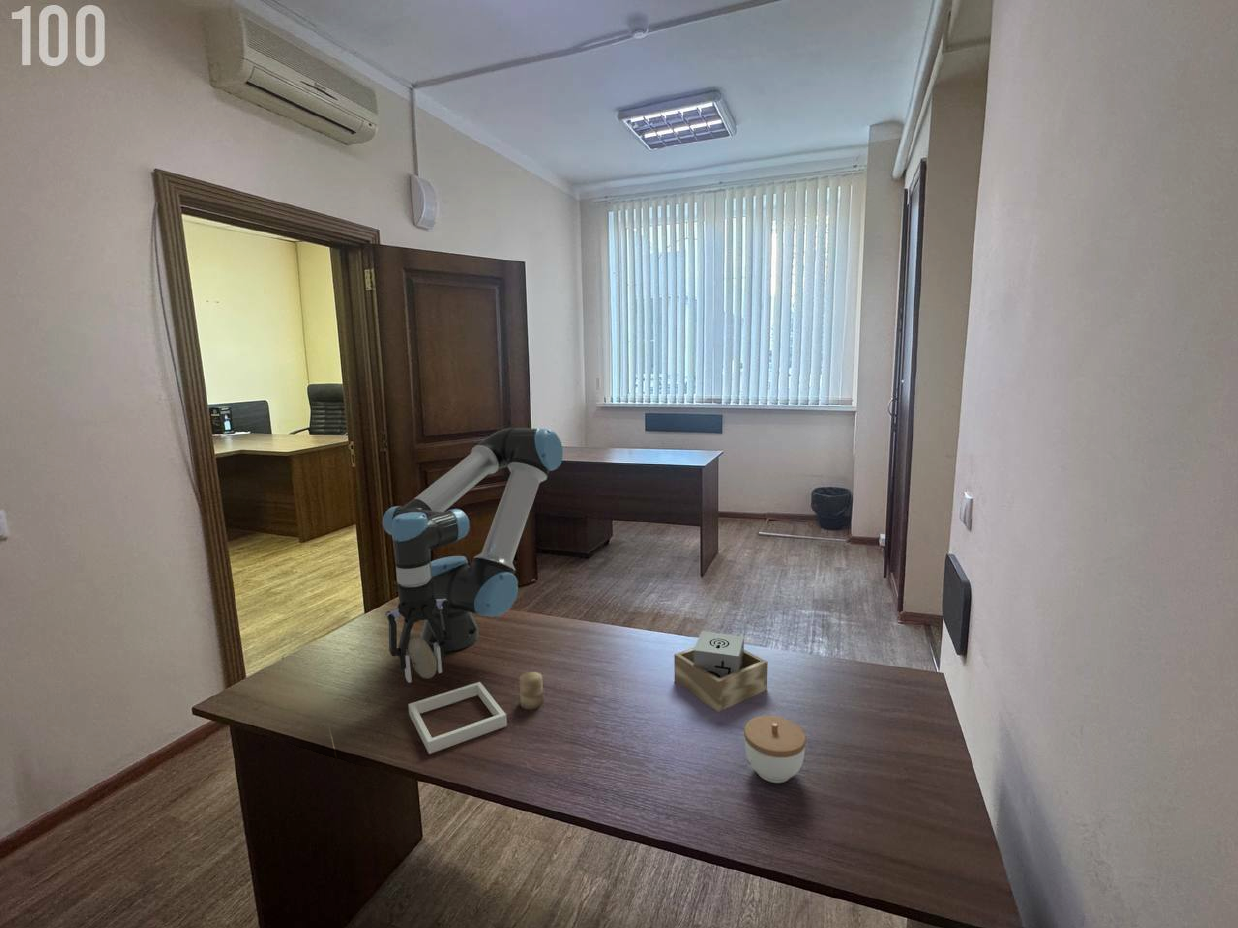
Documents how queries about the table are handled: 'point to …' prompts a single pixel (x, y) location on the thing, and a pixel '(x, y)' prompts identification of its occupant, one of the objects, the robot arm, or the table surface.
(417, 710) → the white rectangular frame
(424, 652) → the stone
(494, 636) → the table surface
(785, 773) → the lidded jar
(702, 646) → the icon cube
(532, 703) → the short oak dowel
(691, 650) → the oak crate
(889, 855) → the table surface
